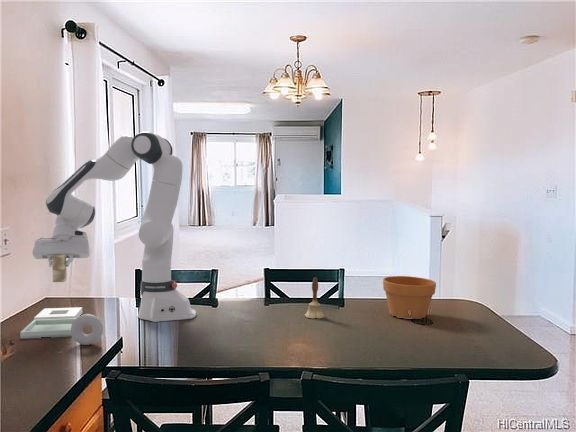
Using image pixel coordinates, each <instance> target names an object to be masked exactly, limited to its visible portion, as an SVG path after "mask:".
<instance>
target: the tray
mask: <svg viewBox="0 0 576 432" xmlns="http://www.w3.org/2000/svg"><path fill="white" fill-rule="evenodd" d="M75 319H76V318H69V319H40V320H34V319H33V320H32V321H31V322H30V323H29V324H27V326H25V327H24V328H23V329H22V330H21V331H20V333H19V339H21V340H23V339H24V340H25V339H42V338H41V337H51V338H68V337H69V338H73V336H72V334H71V326H72V323H73V322H74V320H75Z"/></svg>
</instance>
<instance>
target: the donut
mask: <svg viewBox="0 0 576 432" xmlns="http://www.w3.org/2000/svg"><path fill="white" fill-rule="evenodd" d="M87 325H88V326H90V328H91V331H90V333H88V334H87V333H85V332H84V331H83V327H84V326H87ZM103 332H104V326H103V323H102V321H101V320H100V319H99V318H98V316H96V315H94V314H91V313H85V314H82V315H81V316H79V317H77V318H76V319H75V320H74V322H73V323H72V326H71V334H72V338H73V340H74V341H75V342H77V343H78V344H80V345H82V346H83V345H84V346H90V344H91V345H94V344H95V343H97V342H98V341H99V340H100V339H101V338H102V335H103Z"/></svg>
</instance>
